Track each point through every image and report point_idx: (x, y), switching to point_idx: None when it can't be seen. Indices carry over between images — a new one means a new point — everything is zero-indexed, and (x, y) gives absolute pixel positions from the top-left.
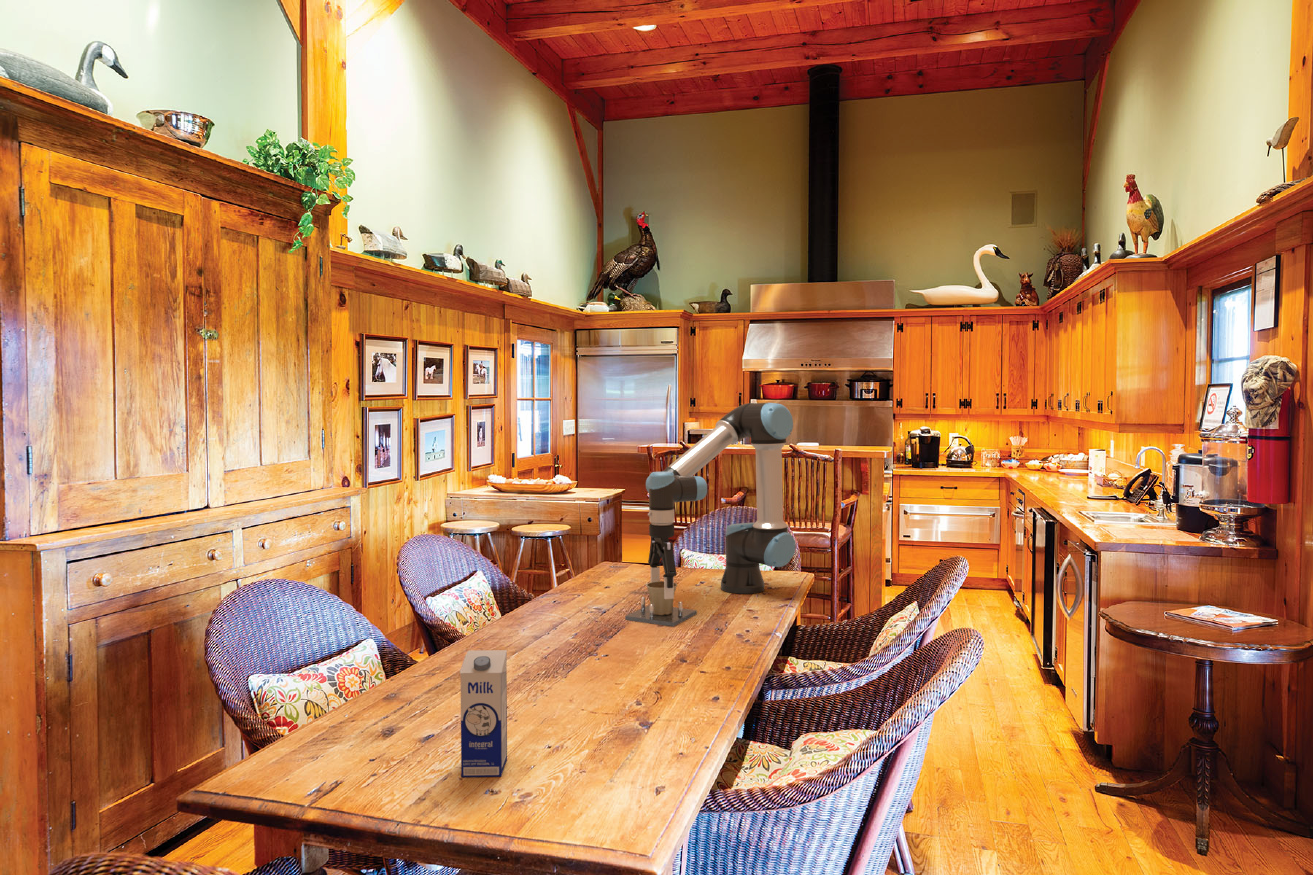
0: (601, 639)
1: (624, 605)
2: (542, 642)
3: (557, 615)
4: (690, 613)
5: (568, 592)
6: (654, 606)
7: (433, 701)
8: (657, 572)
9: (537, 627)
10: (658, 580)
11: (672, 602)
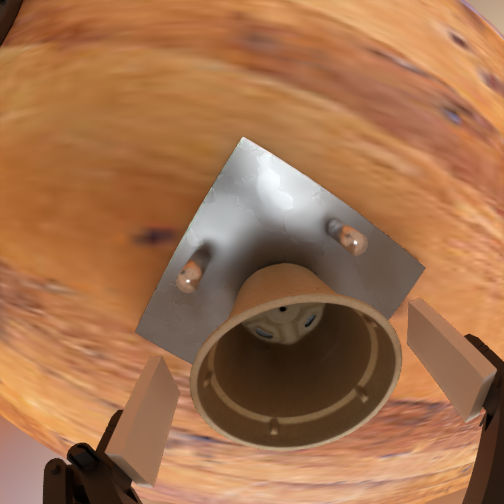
0: (441, 414)
1: (121, 390)
2: (409, 471)
3: (238, 490)
4: (303, 175)
5: (54, 445)
6: (320, 353)
7: None
8: (139, 437)
9: (322, 496)
10: (151, 392)
11: (320, 281)
